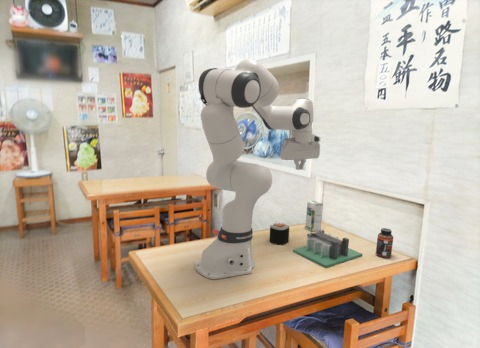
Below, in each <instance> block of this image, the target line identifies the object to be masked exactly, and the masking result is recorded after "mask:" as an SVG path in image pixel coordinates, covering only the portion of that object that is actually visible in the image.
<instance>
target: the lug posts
mask: <svg viewBox="0 0 480 348" xmlns="http://www.w3.org/2000/svg"><path fill="white" fill-rule="evenodd" d="M341 240H342V241H343V244H342V250H341V255H343V256H348V248H349V245H350V244H349V242H350V239H349V238H347V237H343V238H342V239H341ZM337 251H338V242H337V241H332V243H331V255H330V258H332V259H334V260H335V259H337Z"/></svg>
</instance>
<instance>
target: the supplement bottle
mask: <svg viewBox="0 0 480 348" xmlns="http://www.w3.org/2000/svg"><path fill="white" fill-rule="evenodd" d="M393 243H394V235H392V230H391V229H390V228H386V227H385V228H384V227H383V228H381V229H380V233H378V234H377V240H376V248H375V255H377V256H378V257H380V258H384V259H390V258H391V256H392V251H393Z"/></svg>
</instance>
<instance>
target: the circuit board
mask: <svg viewBox="0 0 480 348" xmlns="http://www.w3.org/2000/svg"><path fill="white" fill-rule="evenodd" d="M306 246H307V245H305V246H304V245H303V246H300V247H297V248H294V249H292V252H293V253H295V254H297V255H299V256H301V257H302V258H305V259H307V260H308V261H311V262H312V263H315V264H316V265H318V266H321V267H322V268H325V269H327V268H331V267H333V266H336V265H339V264H343V263H346V262H349V261H352V260H355V259H358V258H361V257H363V253H361V252H359V251H356V250H354V249H352V248H349V247H348V256H343V255H338V256H337V259H335V260H334V259H332V258H327V257H321V255H320V254H318V253H315V254H314V253H313V251H312V250H306Z"/></svg>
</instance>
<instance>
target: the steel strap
mask: <svg viewBox="0 0 480 348" xmlns="http://www.w3.org/2000/svg"><path fill="white" fill-rule="evenodd" d="M312 233H313V236H315V237H317V238H320V239H322V240H324V241H326V242H329V243H332V241H337V242H338V245H342V244H343V241H341V240H342V239H340V240H338V239H339V238H338V239H336V238H333V237H334V236H333V237H331V236H332V235H331V236H329V235H326V234H327V233H325V232H324V233H325V234H324V233H321V232H319V231H315V232H312Z"/></svg>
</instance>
